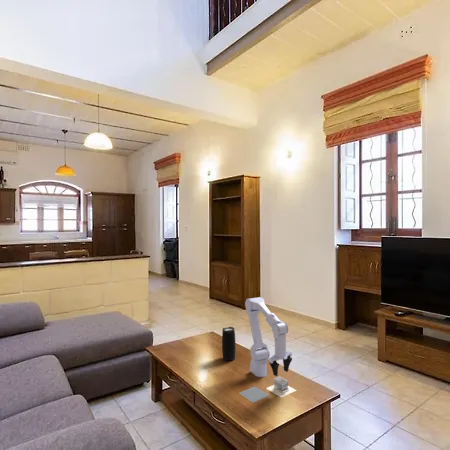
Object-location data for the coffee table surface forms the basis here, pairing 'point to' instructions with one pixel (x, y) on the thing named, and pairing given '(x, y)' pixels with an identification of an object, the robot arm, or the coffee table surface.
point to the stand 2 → (280, 392)
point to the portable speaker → (228, 343)
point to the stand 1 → (254, 394)
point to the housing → (281, 384)
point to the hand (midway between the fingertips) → (280, 373)
